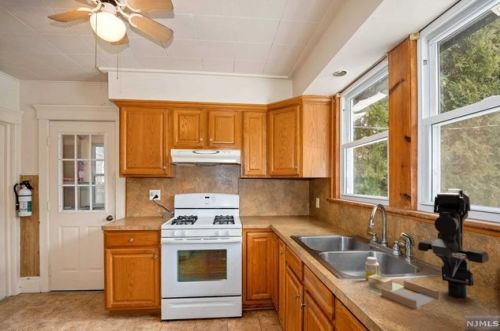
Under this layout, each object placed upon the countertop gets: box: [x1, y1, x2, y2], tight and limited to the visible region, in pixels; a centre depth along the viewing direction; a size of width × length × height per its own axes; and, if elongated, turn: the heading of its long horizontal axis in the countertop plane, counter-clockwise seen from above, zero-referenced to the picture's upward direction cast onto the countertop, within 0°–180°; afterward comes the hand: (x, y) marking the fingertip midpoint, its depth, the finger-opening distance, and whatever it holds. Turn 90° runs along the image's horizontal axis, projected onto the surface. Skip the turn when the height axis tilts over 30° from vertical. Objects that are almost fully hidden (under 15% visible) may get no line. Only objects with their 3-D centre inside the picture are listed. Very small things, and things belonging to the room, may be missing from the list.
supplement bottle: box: [364, 256, 380, 282], centre depth 118 cm, size 6×6×10 cm
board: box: [363, 279, 439, 310], centre depth 102 cm, size 20×16×4 cm
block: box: [367, 274, 393, 291], centre depth 107 cm, size 7×5×4 cm
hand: (451, 276), depth 90 cm, fingers closed
